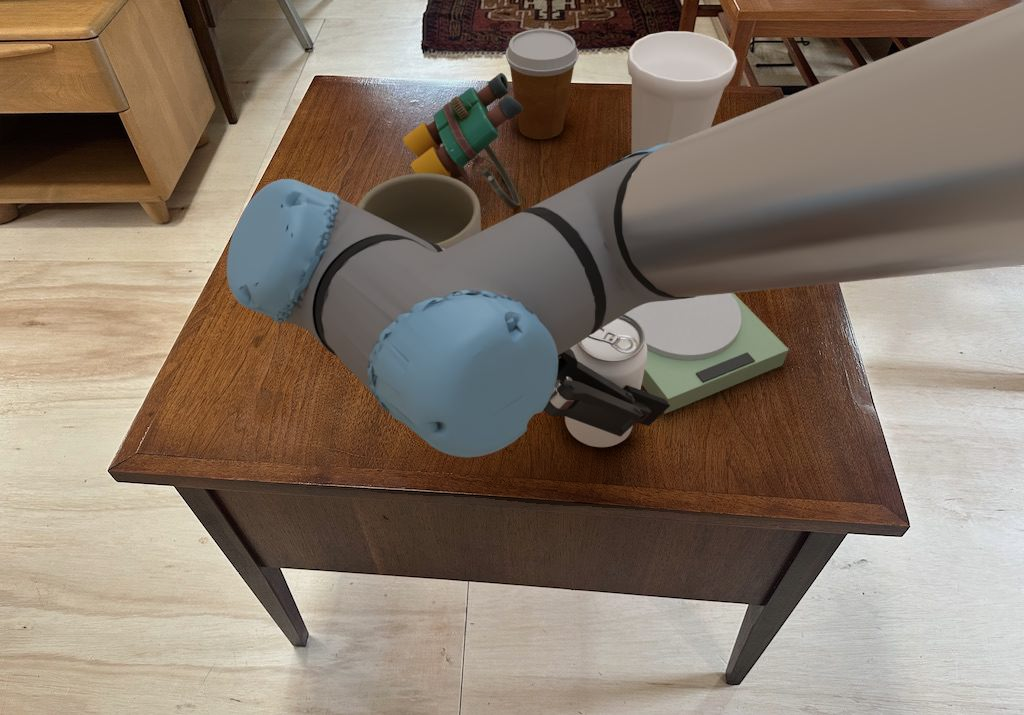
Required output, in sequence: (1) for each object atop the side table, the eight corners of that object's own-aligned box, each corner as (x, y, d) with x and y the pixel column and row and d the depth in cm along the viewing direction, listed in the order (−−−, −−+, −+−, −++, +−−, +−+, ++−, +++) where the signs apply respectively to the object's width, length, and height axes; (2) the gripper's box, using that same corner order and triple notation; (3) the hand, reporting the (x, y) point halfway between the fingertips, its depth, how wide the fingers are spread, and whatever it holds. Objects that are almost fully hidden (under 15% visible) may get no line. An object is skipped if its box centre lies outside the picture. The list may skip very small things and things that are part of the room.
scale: (782, 365, 71) (791, 344, 68) (664, 414, 67) (669, 393, 65) (690, 268, 80) (695, 247, 78) (582, 306, 77) (584, 285, 74)
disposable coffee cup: (508, 109, 103) (506, 27, 94) (573, 110, 103) (578, 27, 94) (505, 146, 97) (503, 61, 88) (575, 146, 97) (580, 61, 88)
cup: (727, 161, 94) (755, 48, 82) (682, 208, 88) (706, 93, 76) (645, 132, 99) (661, 21, 87) (597, 174, 93) (607, 61, 81)
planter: (477, 246, 83) (472, 167, 75) (491, 321, 75) (487, 241, 67) (371, 258, 82) (354, 179, 74) (374, 335, 74) (355, 256, 66)
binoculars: (459, 189, 96) (388, 112, 85) (544, 128, 93) (482, 39, 82) (483, 255, 87) (408, 177, 76) (578, 190, 84) (513, 98, 73)
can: (615, 461, 64) (630, 376, 55) (552, 431, 66) (556, 346, 57) (644, 410, 67) (662, 324, 58) (583, 384, 70) (591, 297, 61)
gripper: (383, 270, 55) (560, 342, 72) (482, 461, 44) (665, 494, 60) (440, 196, 53) (609, 288, 69) (561, 378, 41) (730, 436, 58)
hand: (635, 384), depth 65 cm, fingers closed on can, 6 cm apart
